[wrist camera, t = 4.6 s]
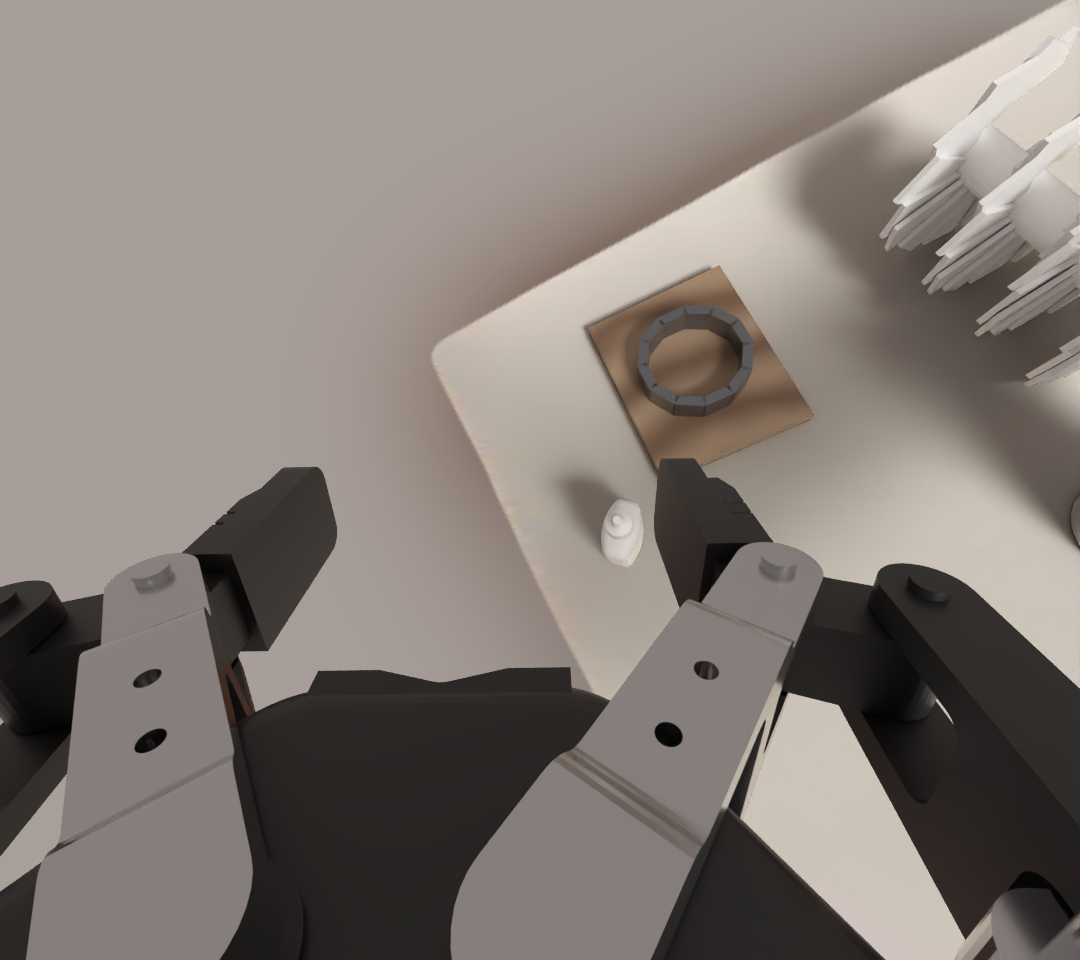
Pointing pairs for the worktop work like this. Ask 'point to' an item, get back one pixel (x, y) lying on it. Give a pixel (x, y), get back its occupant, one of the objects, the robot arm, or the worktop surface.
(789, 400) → the walnut board
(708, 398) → the ring collar
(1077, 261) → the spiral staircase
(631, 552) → the eye dropper bottle
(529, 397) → the worktop surface
